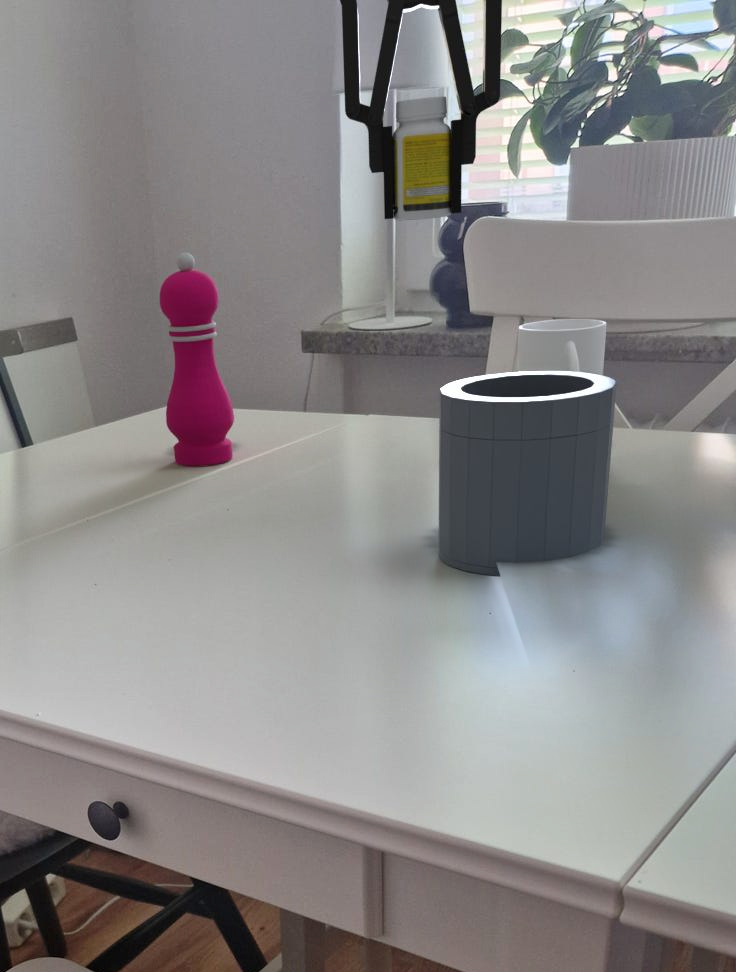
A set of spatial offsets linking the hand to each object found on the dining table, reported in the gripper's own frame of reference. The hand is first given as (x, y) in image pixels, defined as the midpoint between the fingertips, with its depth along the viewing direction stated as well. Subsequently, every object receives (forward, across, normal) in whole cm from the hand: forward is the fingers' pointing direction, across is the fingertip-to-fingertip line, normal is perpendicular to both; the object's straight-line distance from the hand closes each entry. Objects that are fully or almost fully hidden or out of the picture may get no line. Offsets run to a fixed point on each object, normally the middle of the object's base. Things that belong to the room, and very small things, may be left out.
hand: (422, 214), depth 97 cm
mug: (+23, +13, +9) cm, 28 cm away
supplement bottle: (+1, 0, 0) cm, 1 cm away
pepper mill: (+22, -23, +17) cm, 36 cm away
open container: (+23, +7, -21) cm, 32 cm away
